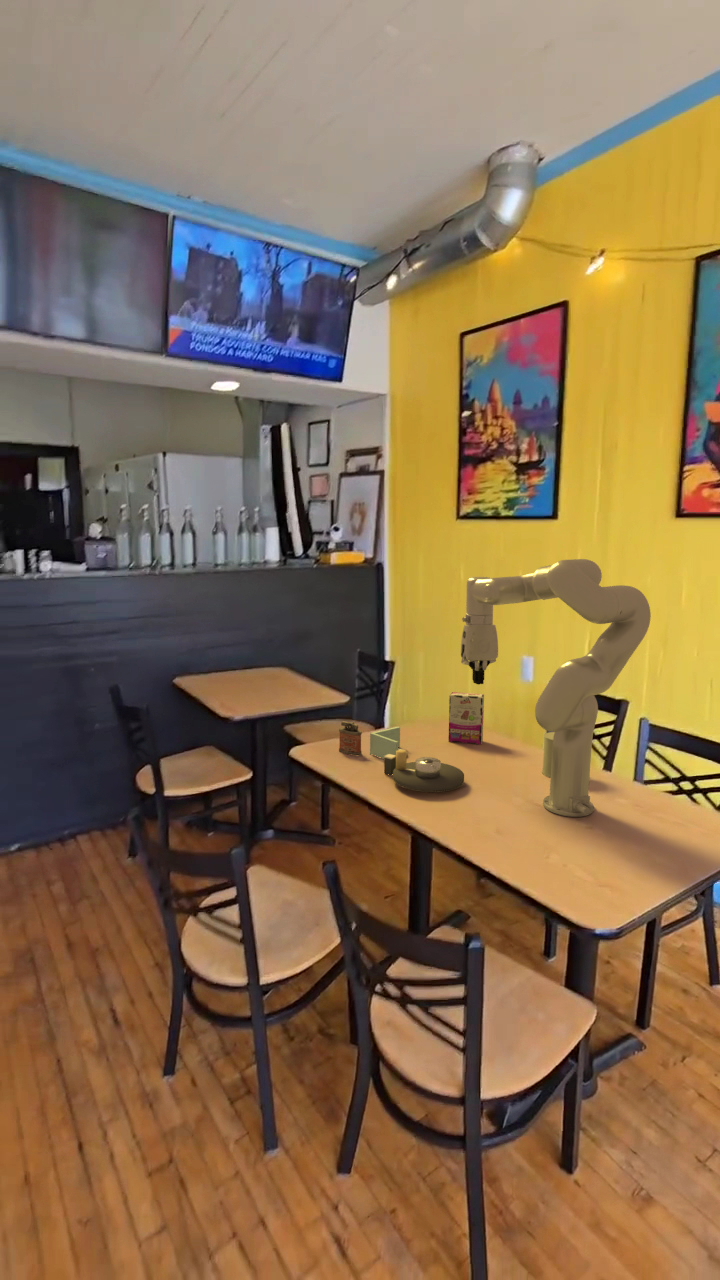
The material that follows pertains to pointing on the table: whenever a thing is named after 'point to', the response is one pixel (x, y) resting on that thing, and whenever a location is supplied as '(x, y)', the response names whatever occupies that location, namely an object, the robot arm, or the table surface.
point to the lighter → (350, 739)
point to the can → (547, 754)
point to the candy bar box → (466, 718)
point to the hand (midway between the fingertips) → (478, 683)
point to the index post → (389, 764)
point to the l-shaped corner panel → (385, 742)
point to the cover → (427, 768)
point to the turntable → (407, 779)
